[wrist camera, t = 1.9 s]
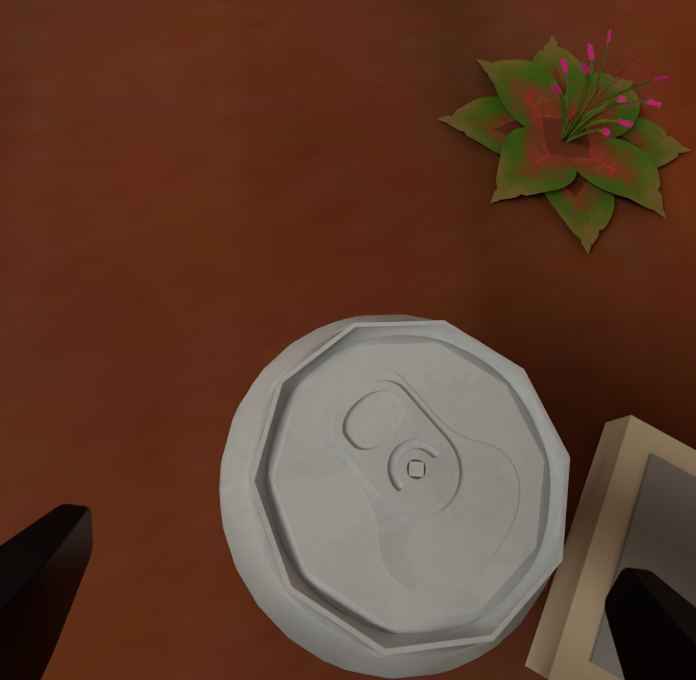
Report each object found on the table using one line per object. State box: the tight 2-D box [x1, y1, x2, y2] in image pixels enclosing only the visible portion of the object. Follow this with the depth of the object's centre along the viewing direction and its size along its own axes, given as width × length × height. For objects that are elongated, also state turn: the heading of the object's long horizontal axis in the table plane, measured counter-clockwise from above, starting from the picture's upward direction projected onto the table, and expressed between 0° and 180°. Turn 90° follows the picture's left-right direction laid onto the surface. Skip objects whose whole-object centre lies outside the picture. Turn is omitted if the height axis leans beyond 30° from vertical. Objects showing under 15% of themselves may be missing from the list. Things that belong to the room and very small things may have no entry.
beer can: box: [219, 315, 570, 678], centre depth 12 cm, size 5×5×12 cm
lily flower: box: [438, 28, 691, 253], centre depth 23 cm, size 12×12×5 cm
